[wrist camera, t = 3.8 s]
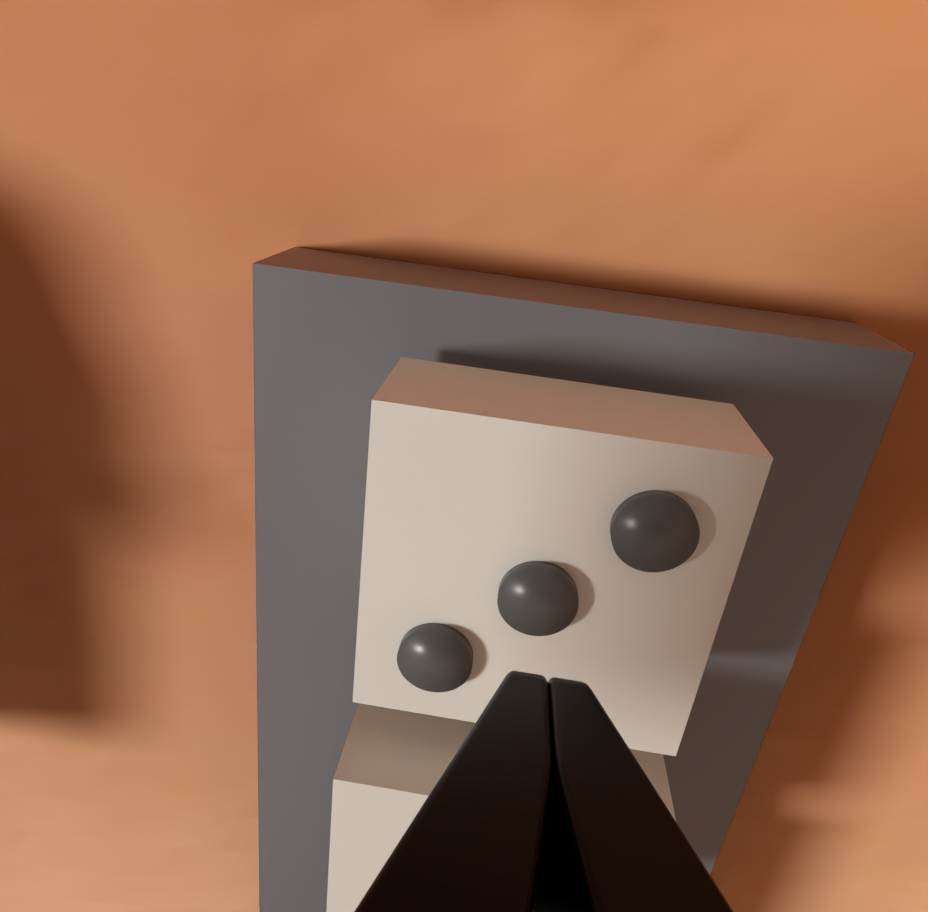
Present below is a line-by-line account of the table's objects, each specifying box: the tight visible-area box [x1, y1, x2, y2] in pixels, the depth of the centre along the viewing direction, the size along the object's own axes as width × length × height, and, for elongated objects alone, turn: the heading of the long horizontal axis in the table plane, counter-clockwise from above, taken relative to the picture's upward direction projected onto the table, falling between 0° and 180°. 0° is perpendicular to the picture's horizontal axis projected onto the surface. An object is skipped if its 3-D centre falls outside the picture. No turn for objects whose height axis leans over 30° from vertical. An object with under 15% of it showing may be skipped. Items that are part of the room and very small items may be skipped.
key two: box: [326, 703, 676, 912], centre depth 12 cm, size 5×5×2 cm
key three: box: [353, 357, 773, 756], centre depth 10 cm, size 5×5×2 cm
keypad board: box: [253, 247, 915, 912], centre depth 15 cm, size 18×10×2 cm, turn 173°
